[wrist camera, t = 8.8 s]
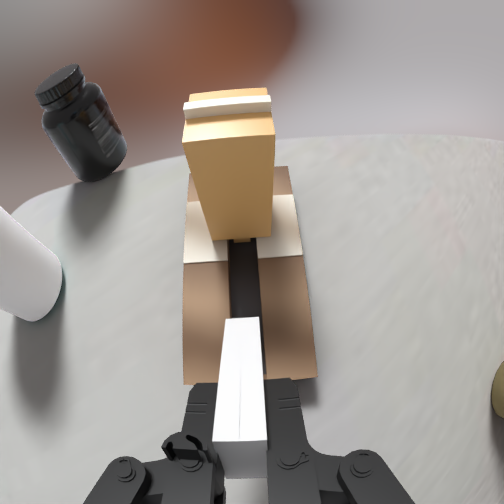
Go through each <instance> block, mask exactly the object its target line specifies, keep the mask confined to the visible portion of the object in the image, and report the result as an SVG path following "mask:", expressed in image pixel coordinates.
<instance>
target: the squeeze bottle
mask: <svg viewBox="0 0 504 504" xmlns="http://www.w3.org/2000/svg"><path fill="white" fill-rule="evenodd" d="M492 405H493V408H494V410H495V412H496V414H497V415H498V416H500V417H501V418H503V419H504V361H503V362H502V364H501V365H500V367H499V368H498V370H497V372H496V375H495V378H494V381H493V387H492Z"/></svg>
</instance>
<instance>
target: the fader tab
mask: <svg viewBox="0 0 504 504" xmlns="http://www.w3.org/2000/svg"><path fill="white" fill-rule="evenodd" d="M183 110H184V114H185V119H186V121H185V126H184V133H183V139H182V144H183V148H184V151H185V155H186V158H187V161H188V165H189V168H190V172H191V175H192V178H193V182H194V185H195V188H196V191H197V195H198V198H199V201H200V204H201V207H202V211H203V214H204V217H205V220H206V223H207V226H208V230H209V233H210V236H211V239H212V241H214V240H228V239H234V243H239V242H251V241H250V238H255V237H270V236H271V223H272V203H273V182H274V158H275V130H274V125H273V119H272V114H271V99H270V95H268V94H267V90H266V88H250V89H236V90H224V91H215V92H206V93H197V94H190V98H189V102H186V103H184V109H183Z"/></svg>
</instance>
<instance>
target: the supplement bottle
mask: <svg viewBox="0 0 504 504" xmlns="http://www.w3.org/2000/svg"><path fill="white" fill-rule="evenodd" d="M35 96H36V98H37V99H38V101H39V103H40V106H41V108H42V109H45V111H44V113H43V117H42V127H43V129H44V131H45V132H46V134H47V136H48V137H49V138H50V140H51V142H52V143H53V144H54V146H55V147H56V149H57V150H58V152H59V153H60V155H61V156H62V157H63V158H64V160H65V162H66V163H67V164H68V166H69V167H70V168H71V170H72V171H73V172H74V174H75V175H76V176H77V177H78V178H79V179H80V180H82V181H85V182H93V181H97V180H100V179H102V178H104V177H106V176H108V175H109V174H111V173H112V172H113V171H114V170H115V169H116V168H117V167H118V166H119V165H120V164H121V162H122V161H123V159H124V157H125V155H126V151H127V144H126V141H125V139H124V137H123V135H122V133H121V131H120V129H119V127H118V124H117V122H116V120H115V118H114V116H113V114H112V112H111V110H110V107H109V105H108V103H107V101H106V99H105V96H104V94H103V92H102V90H101V88H100V87H99V86H98V85H97V84H95V83H92V82H85V76H84V75H83V74H82V71H81V69H80V67H79V65H78V64H76V63H75V64H71V65H68V66H65V67H63V68H61V69H59V70H58V71H56V72H55V73H53V74H52V75H50V76H49V77H48V78H46V79H45V80H44V81H43V82H42V83H41V84H40V85H39V86H38V88H37V89H36V91H35Z"/></svg>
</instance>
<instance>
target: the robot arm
mask: <svg viewBox="0 0 504 504" xmlns="http://www.w3.org/2000/svg"><path fill="white" fill-rule="evenodd" d="M161 448H162V449H163V451H164V453H165V454H166V456H167V458H165V459H162V460H158V461H152V462H145V463H141V462H140V461H139V460H137V459H136V458H133V457H128V456H125V457H119V458H117V459H115V460H113V461H112V462H111V463H110V464H109V465H108V467H107V468H106V470H105V471H104V473H103V474H102V476H101V477H100V479H99V480H98V482H97V483H96V485H95V486H94V488H93V489H92V491H91V492H90V494H89V495H88V497H87V498H86V500H85V501H84V503H83V504H226V491H225V487H224V475H225V477H226V479H241V478H266V477H268V496H269V504H415V503H414V502H413V500H412V499H411V498H410V496H409V495H408V493H407V492H406V491H405V489H404V488H403V487H402V485H401V484H400V483H399V481H398V480H397V478H396V477H395V476H394V474H393V473H392V471H391V470H390V469H389V467H388V466H387V465H386V463H385V462H384V460H383V459H382V458H381V457H380V456H379V455H378V454H377V453H376V452H373V451H370V450H357V451H353V452H351V453H349V454H348V455H346V456H345V457H342V456H331V455H325V454H321V453H319V452H317V451H315V450H314V449H313V448H312V447H311V446H310V445H309V443H308V440H307V437H306V431H305V426H304V420H303V415H302V410H301V404H300V399H299V394H298V389H297V386H296V384H295V383H294V382H293V381H292V380H291V378H290V377H288V378H278V379H265V380H263V365H262V351H261V338H260V324H259V317H249V318H233V319H226V321H225V329H224V337H223V346H222V354H221V363H220V372H219V381H218V383H196V384H195V386H194V387H193V388H192V389H191V391H190V392H189V397H188V402H187V407H186V413H185V416H184V421H183V426H182V431H181V432H178V433H175V434H173V435H170V436H169V437H168V438H167V439H166V440H165V441H164V443H163V445H162V447H161Z"/></svg>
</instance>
